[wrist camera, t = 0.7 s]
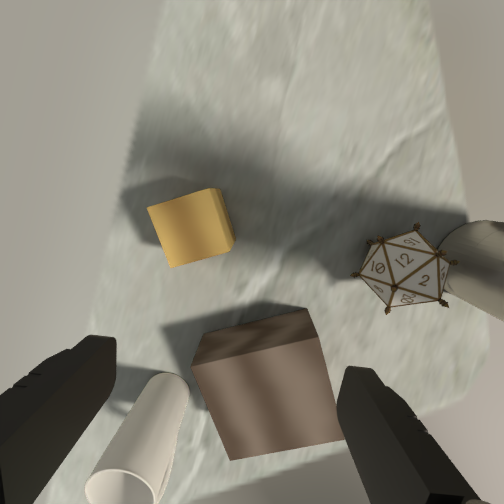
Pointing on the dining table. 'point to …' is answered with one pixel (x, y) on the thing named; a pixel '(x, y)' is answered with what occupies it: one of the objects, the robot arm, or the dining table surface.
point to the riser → (267, 386)
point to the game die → (405, 270)
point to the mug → (142, 447)
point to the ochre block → (193, 227)
